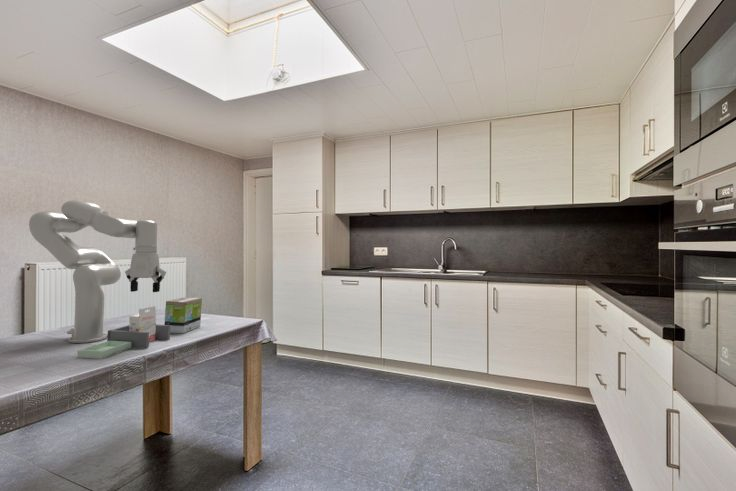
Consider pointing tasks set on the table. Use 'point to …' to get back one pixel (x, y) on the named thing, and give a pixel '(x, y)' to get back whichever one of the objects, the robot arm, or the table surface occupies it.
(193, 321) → the tea box
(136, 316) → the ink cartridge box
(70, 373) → the table surface
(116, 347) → the tray
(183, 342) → the table surface
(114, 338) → the bay
